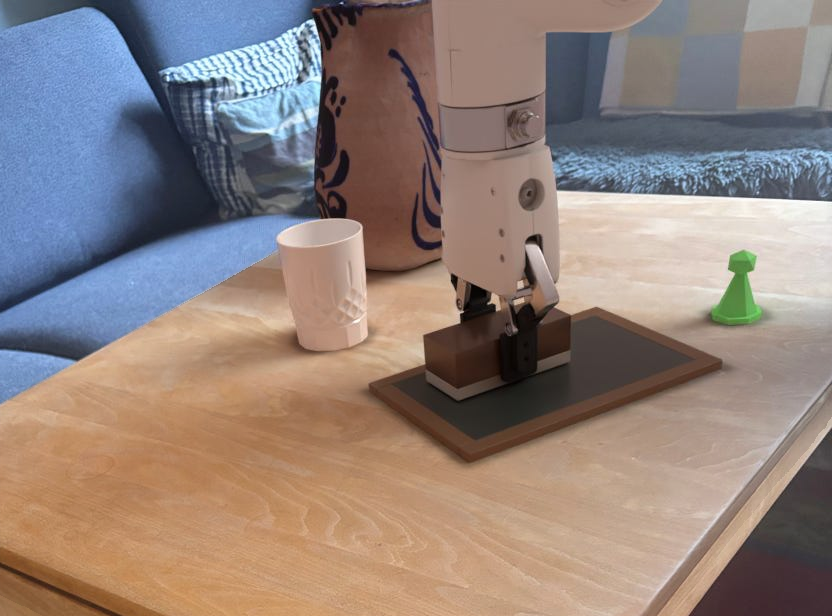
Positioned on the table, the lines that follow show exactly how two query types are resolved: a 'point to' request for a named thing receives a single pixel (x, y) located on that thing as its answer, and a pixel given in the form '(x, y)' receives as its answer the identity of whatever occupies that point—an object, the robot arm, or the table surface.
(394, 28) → the ceramic pitcher
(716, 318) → the game piece
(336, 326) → the white cup
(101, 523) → the table surface
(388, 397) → the slate board
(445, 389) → the eraser
